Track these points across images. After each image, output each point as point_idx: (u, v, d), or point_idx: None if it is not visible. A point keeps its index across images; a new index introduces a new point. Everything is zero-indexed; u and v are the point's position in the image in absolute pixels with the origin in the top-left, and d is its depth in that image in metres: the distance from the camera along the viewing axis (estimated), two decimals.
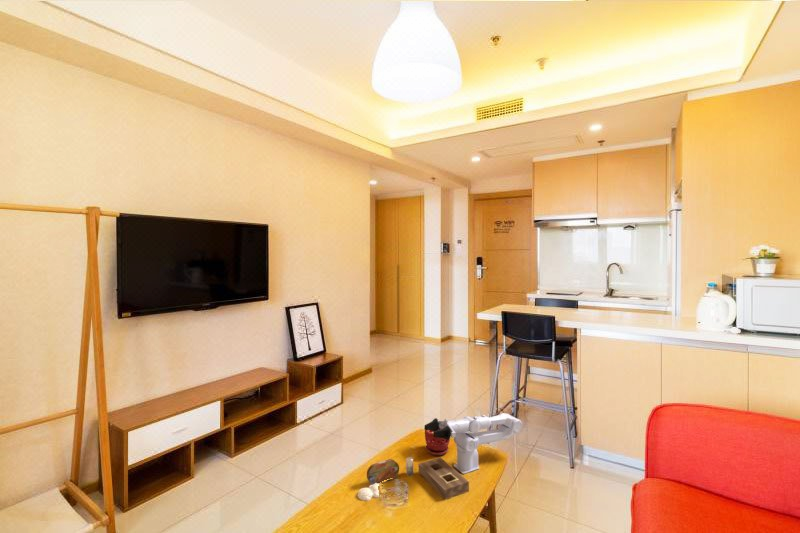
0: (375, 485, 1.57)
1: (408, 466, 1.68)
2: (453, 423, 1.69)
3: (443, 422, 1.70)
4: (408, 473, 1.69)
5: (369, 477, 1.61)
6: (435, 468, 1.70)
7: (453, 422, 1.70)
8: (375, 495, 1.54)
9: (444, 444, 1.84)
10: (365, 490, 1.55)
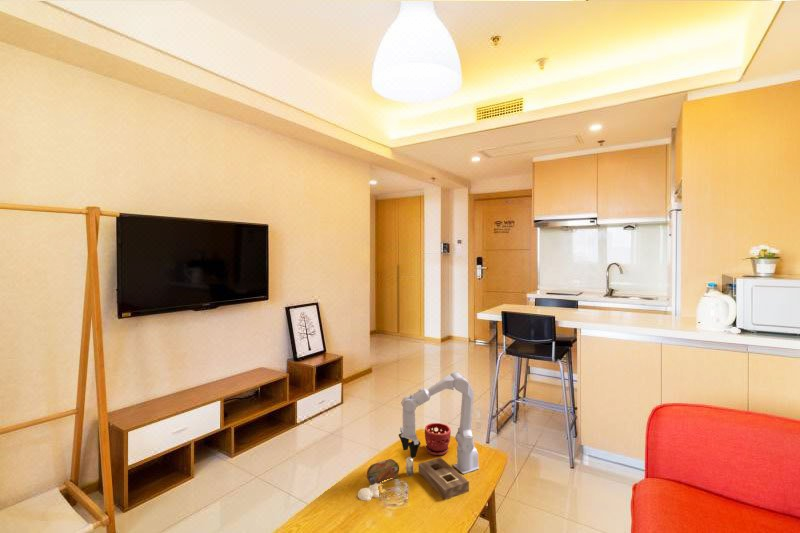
0: (375, 485, 1.57)
1: (408, 466, 1.68)
2: (406, 430, 1.67)
3: None
4: (408, 473, 1.69)
5: (369, 477, 1.61)
6: (435, 468, 1.70)
7: (404, 429, 1.68)
8: (375, 495, 1.54)
9: (444, 444, 1.84)
10: (366, 490, 1.55)
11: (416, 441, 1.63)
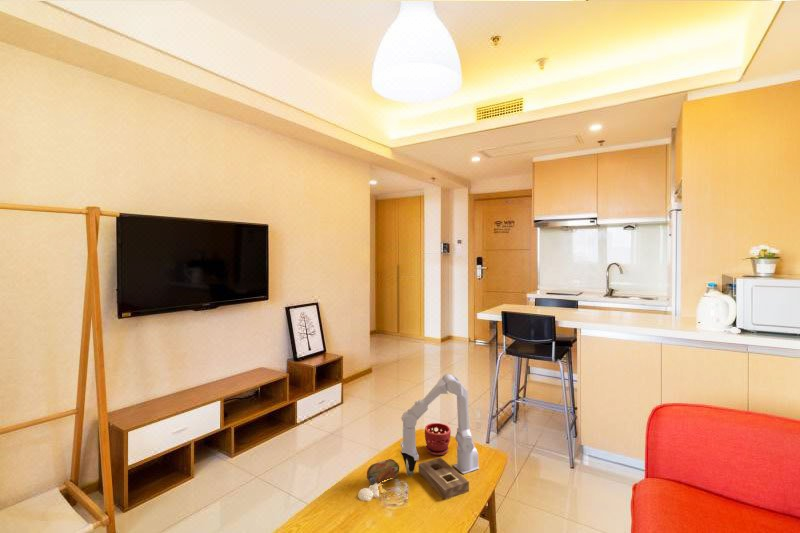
0: (375, 485, 1.57)
1: (408, 466, 1.68)
2: (406, 445, 1.67)
3: None
4: (408, 473, 1.69)
5: (369, 477, 1.61)
6: (435, 468, 1.70)
7: (405, 444, 1.68)
8: (376, 495, 1.54)
9: (444, 444, 1.84)
10: (366, 490, 1.54)
11: (416, 457, 1.63)
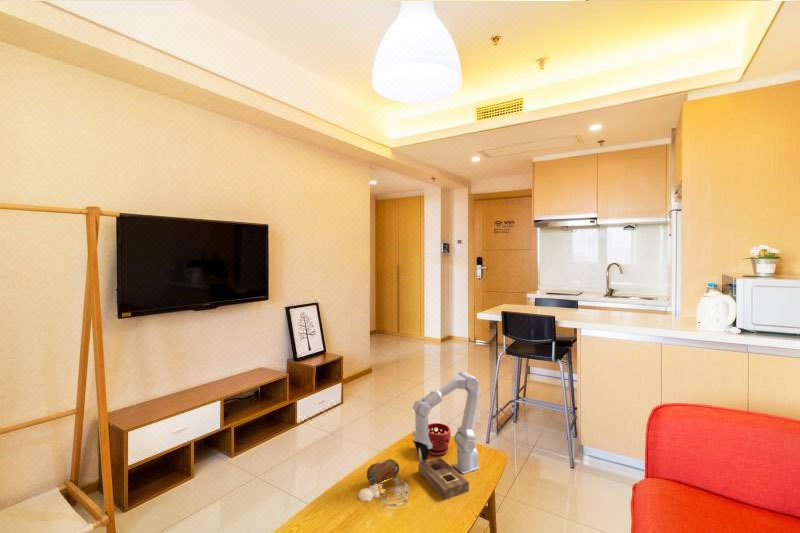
0: (376, 486, 1.57)
1: (421, 455, 1.65)
2: (419, 434, 1.63)
3: None
4: (421, 462, 1.65)
5: (369, 477, 1.61)
6: (435, 468, 1.70)
7: (417, 433, 1.64)
8: (376, 496, 1.53)
9: (444, 444, 1.84)
10: (366, 491, 1.54)
11: (430, 445, 1.59)
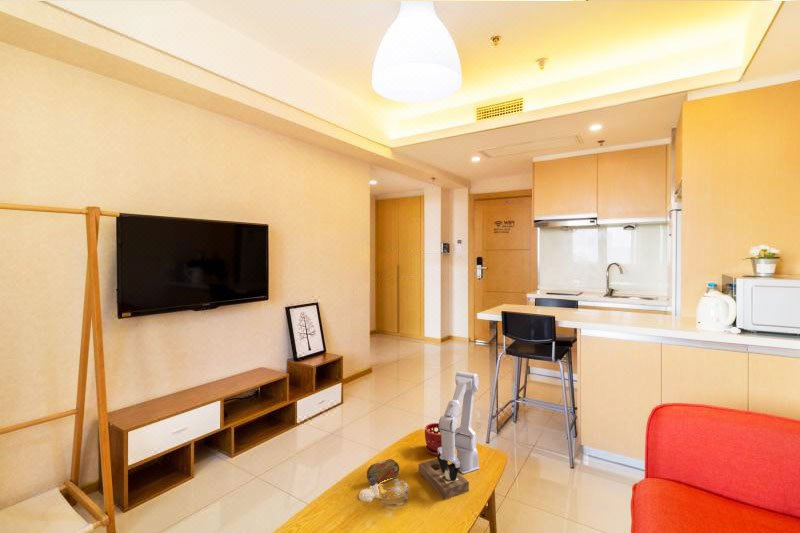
0: (376, 486, 1.57)
1: (447, 478, 1.58)
2: (445, 451, 1.56)
3: None
4: None
5: (369, 477, 1.61)
6: (435, 468, 1.70)
7: (444, 450, 1.57)
8: (377, 496, 1.53)
9: None
10: (367, 491, 1.54)
11: (458, 464, 1.52)
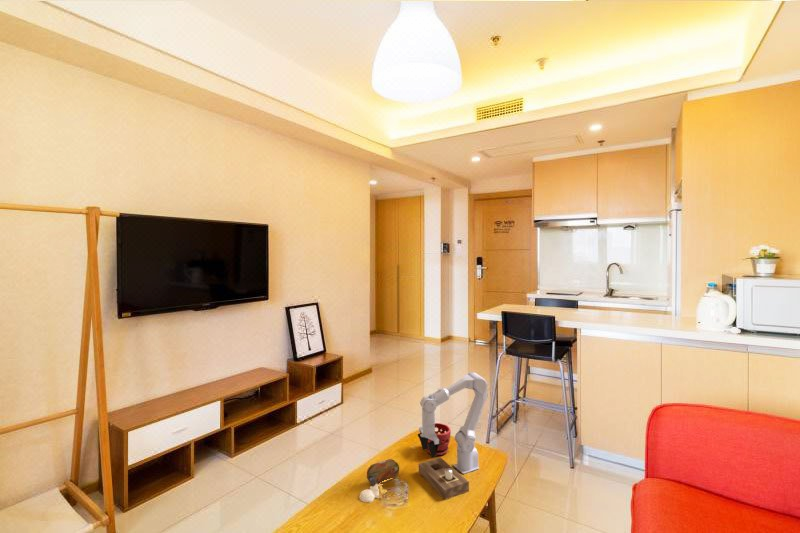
0: (376, 486, 1.57)
1: (447, 478, 1.58)
2: (426, 429, 1.67)
3: None
4: None
5: (369, 477, 1.61)
6: (435, 468, 1.70)
7: (424, 428, 1.67)
8: (378, 496, 1.53)
9: (444, 444, 1.84)
10: (368, 492, 1.53)
11: (436, 441, 1.63)
